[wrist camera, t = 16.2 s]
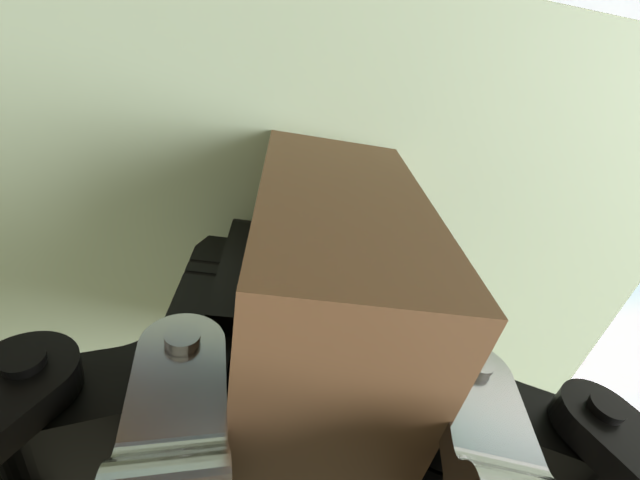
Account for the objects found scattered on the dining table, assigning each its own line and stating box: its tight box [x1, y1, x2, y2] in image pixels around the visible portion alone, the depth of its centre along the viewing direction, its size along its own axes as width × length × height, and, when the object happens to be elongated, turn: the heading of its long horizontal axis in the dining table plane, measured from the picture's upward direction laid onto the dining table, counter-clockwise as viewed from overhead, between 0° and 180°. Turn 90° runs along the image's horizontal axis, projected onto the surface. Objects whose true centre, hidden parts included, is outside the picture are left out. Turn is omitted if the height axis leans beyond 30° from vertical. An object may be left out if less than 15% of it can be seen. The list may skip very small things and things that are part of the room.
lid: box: [0, 0, 640, 480], centre depth 9 cm, size 20×13×8 cm, turn 80°
